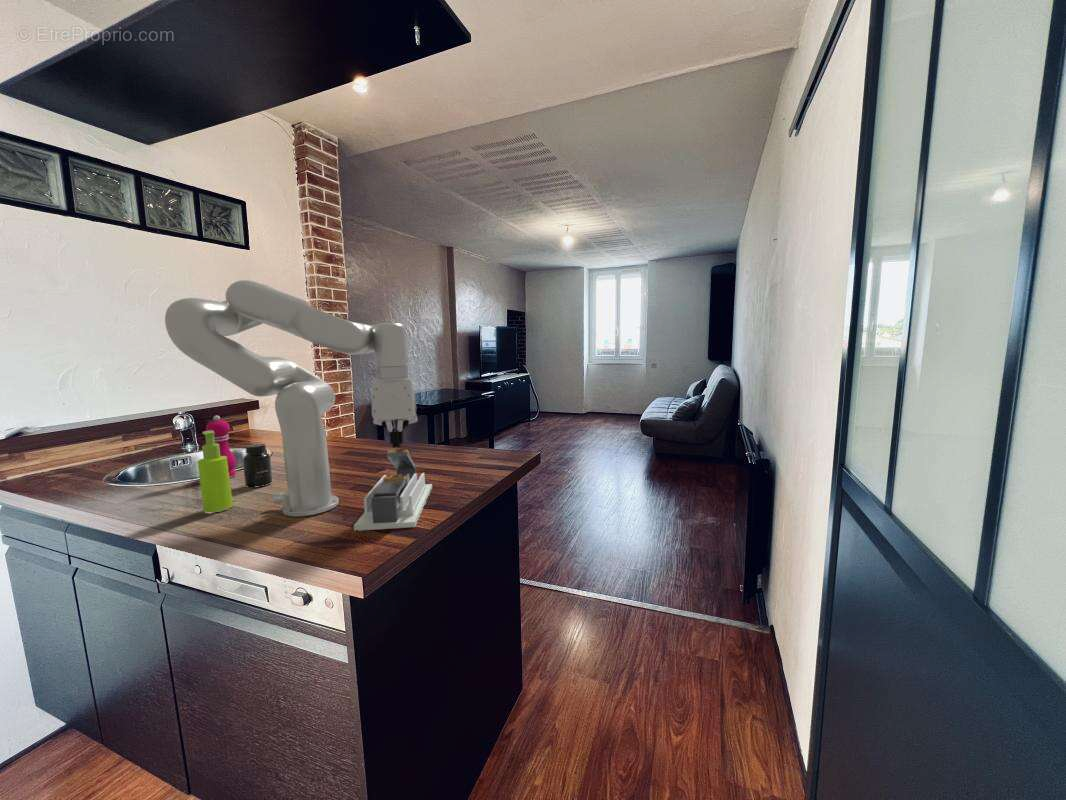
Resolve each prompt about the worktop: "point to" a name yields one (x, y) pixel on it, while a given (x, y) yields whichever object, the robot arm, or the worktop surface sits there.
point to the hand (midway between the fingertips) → (397, 446)
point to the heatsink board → (395, 504)
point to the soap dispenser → (214, 476)
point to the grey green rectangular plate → (400, 459)
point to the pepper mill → (222, 441)
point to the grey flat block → (390, 486)
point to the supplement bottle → (257, 466)
